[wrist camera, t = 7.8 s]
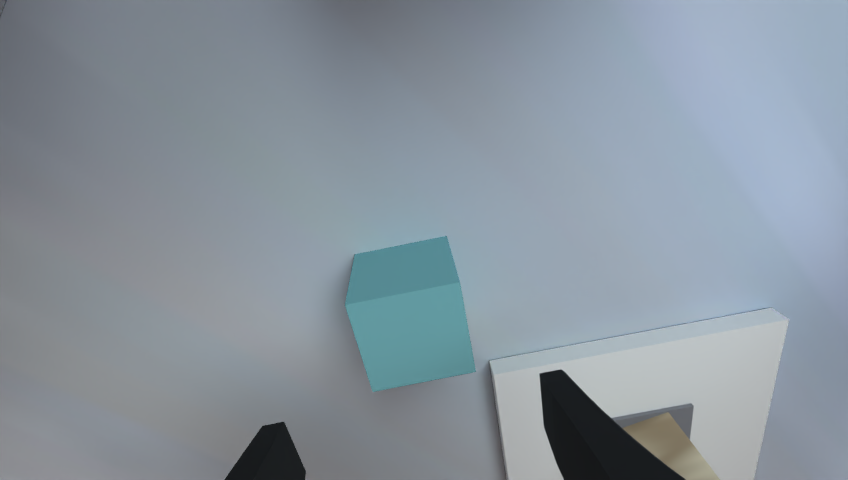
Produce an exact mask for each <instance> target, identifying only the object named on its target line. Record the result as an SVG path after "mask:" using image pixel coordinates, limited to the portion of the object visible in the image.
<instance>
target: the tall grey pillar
mask: <svg viewBox="0 0 848 480" xmlns="http://www.w3.org/2000/svg"><path fill="white" fill-rule="evenodd" d="M5 2H6V0H0V15H1V13H2V10H3V8H4V5H5Z"/></svg>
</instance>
